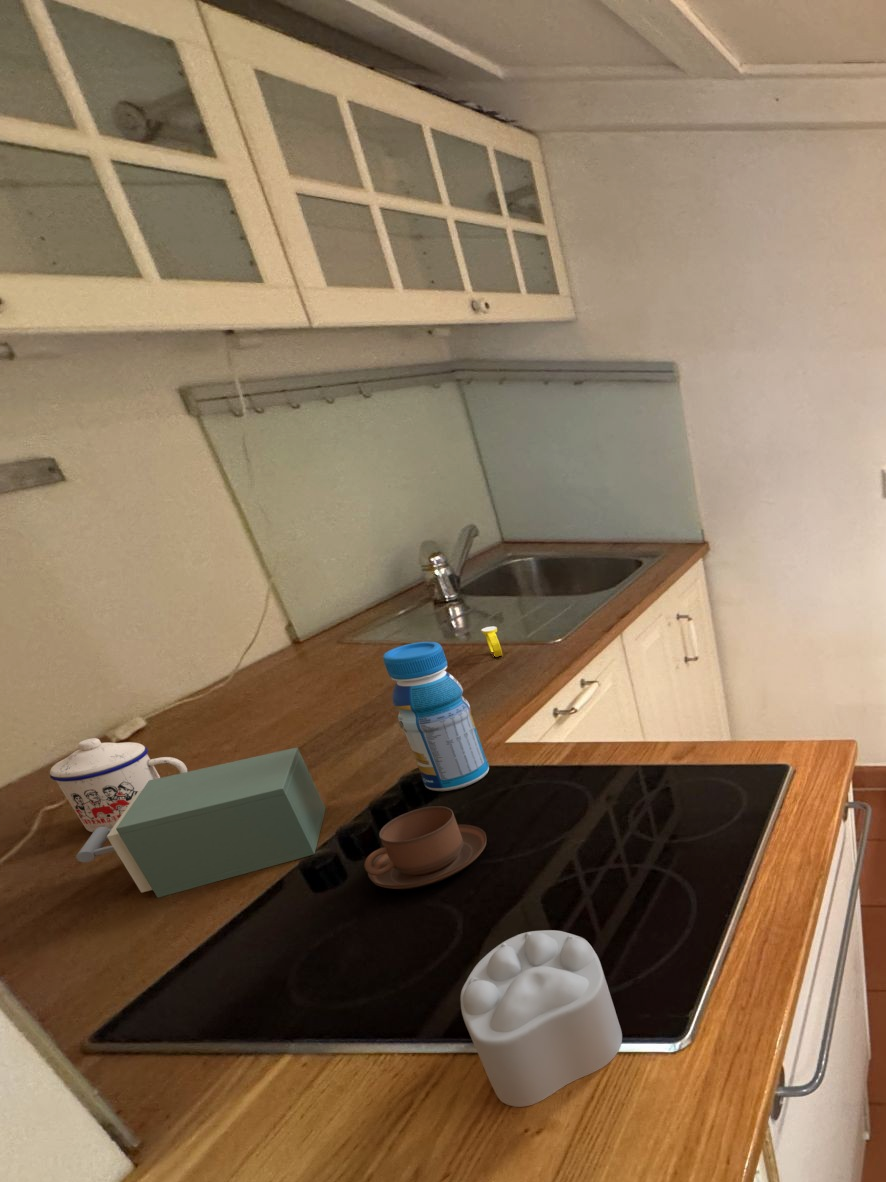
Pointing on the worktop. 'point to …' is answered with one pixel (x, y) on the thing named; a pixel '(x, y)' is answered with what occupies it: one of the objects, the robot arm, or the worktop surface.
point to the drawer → (95, 848)
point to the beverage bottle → (435, 717)
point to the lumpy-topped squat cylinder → (540, 1015)
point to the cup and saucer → (423, 849)
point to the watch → (492, 640)
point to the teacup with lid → (106, 779)
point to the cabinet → (223, 821)
